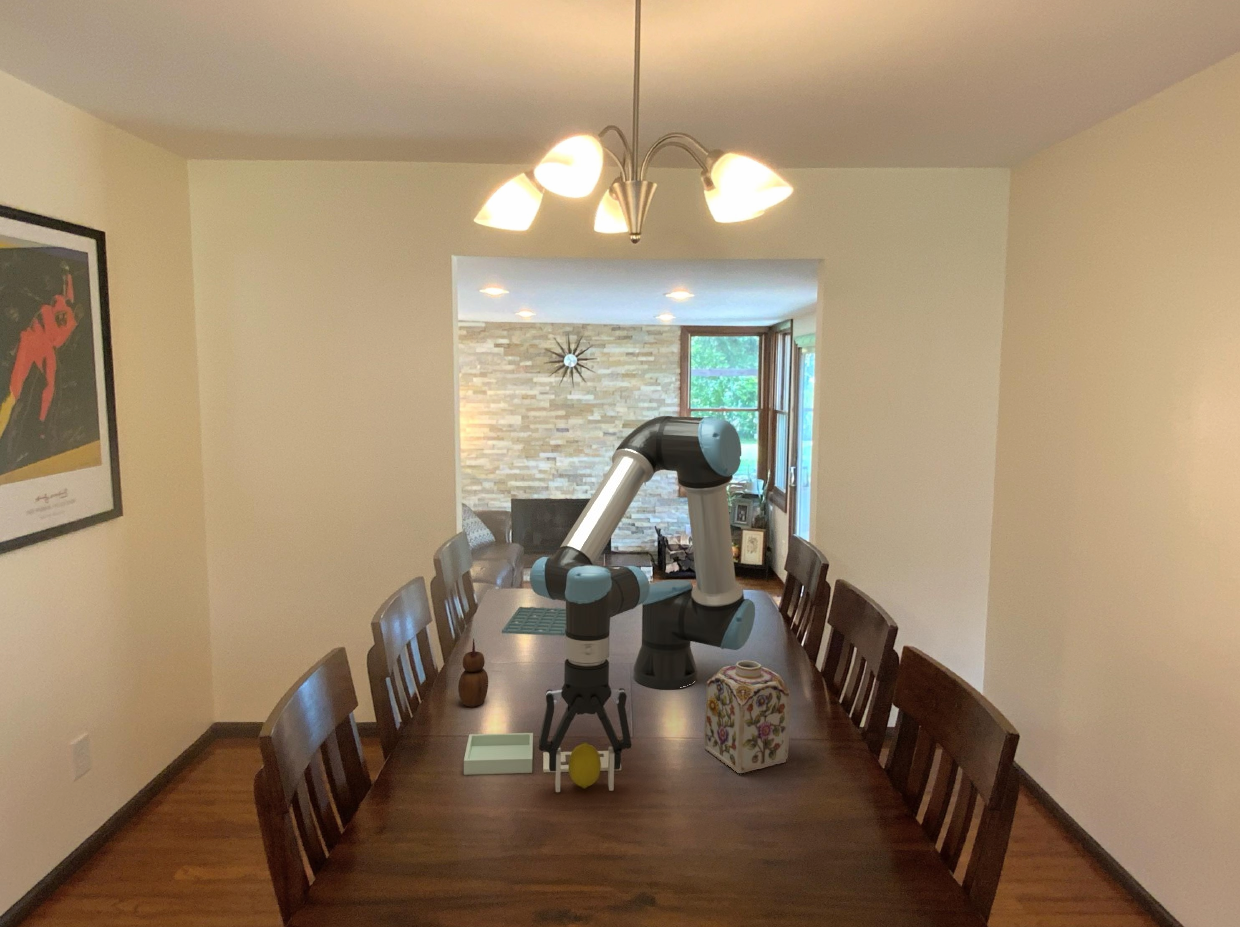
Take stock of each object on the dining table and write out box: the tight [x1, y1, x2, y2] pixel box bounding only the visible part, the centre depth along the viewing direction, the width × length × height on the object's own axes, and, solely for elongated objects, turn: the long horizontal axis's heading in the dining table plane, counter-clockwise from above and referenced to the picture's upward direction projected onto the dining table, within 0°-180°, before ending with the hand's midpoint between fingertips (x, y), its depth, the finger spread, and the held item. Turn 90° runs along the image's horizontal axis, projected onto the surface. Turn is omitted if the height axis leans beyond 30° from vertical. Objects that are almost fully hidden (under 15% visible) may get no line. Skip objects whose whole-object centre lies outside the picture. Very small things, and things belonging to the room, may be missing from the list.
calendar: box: [501, 606, 566, 637], centre depth 228 cm, size 27×29×2 cm
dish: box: [463, 732, 534, 776], centre depth 142 cm, size 12×10×3 cm
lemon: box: [568, 742, 601, 789], centre depth 133 cm, size 6×6×8 cm
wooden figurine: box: [457, 638, 489, 708], centre depth 167 cm, size 7×6×15 cm
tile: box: [542, 750, 622, 773], centre depth 142 cm, size 14×6×1 cm, turn 96°
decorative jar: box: [703, 660, 791, 774], centre depth 145 cm, size 12×12×18 cm
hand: (584, 787), depth 133 cm, fingers open, 8 cm apart
